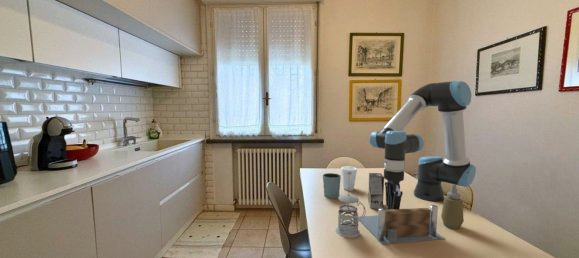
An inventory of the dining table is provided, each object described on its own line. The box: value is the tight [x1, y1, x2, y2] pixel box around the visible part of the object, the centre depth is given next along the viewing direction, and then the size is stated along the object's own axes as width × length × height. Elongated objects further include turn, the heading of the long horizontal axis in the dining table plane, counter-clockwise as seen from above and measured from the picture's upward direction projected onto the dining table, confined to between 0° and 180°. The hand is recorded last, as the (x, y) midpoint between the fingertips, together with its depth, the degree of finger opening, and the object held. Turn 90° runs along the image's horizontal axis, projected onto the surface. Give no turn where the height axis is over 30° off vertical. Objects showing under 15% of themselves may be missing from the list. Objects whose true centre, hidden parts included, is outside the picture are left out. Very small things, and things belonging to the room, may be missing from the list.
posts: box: [376, 204, 439, 243], centre depth 94 cm, size 24×4×12 cm, turn 99°
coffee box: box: [368, 172, 385, 210], centre depth 127 cm, size 9×6×16 cm
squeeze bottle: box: [440, 184, 465, 230], centre depth 104 cm, size 8×8×18 cm
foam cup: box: [340, 165, 358, 191], centre depth 154 cm, size 10×9×13 cm
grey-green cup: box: [322, 172, 342, 199], centre depth 141 cm, size 10×10×12 cm
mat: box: [358, 214, 446, 245], centre depth 104 cm, size 26×23×1 cm
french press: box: [335, 171, 367, 239], centre depth 99 cm, size 10×12×25 cm
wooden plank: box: [384, 207, 431, 237], centre depth 95 cm, size 18×2×10 cm, turn 96°
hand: (391, 226), depth 100 cm, fingers closed
